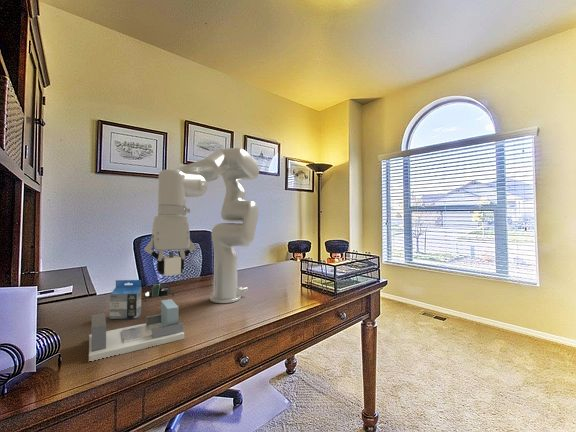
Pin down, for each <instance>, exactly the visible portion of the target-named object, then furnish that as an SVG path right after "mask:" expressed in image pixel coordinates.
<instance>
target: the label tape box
mask: <svg viewBox="0 0 576 432" xmlns="http://www.w3.org/2000/svg"><path fill="white" fill-rule="evenodd" d="M141 315H142V280H141V279H122V280H121V279H120V280H118V279H116V280H115V288H114V289H112V292H111V293H110V294H109V320H116V319H117V320H119V319H121V320H123V319H126V320H128V319H138V318H139V317H140V316H141Z"/></svg>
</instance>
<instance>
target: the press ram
mask: <svg viewBox="0 0 576 432" xmlns="http://www.w3.org/2000/svg"><path fill="white" fill-rule="evenodd" d="M179 309H180V308H179V305H177V304H176V303H175V301H174V300H173V299H172V298H169V299H163V300H162V299H161V300H160V314H161V323H162V325H163V326H166V325H171V324H176V323H180V322H179V320H180V319H179V313H180V312H179V311H180V310H179Z"/></svg>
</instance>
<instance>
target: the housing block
mask: <svg viewBox="0 0 576 432" xmlns="http://www.w3.org/2000/svg"><path fill="white" fill-rule="evenodd" d="M163 261H164V274H163V275H162V276H164V277H167V276H170V277H171V276H178V275H181V274H182V273H181V257H179V255H174V251H169V252H168V256H163Z"/></svg>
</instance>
